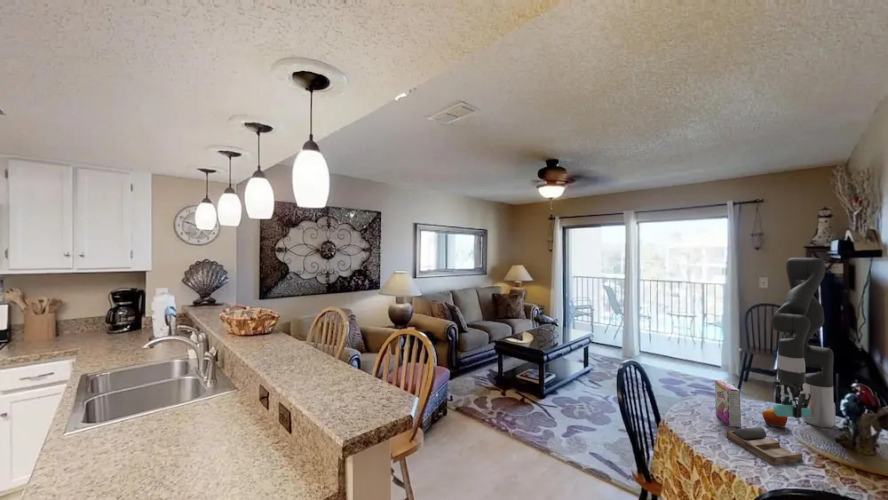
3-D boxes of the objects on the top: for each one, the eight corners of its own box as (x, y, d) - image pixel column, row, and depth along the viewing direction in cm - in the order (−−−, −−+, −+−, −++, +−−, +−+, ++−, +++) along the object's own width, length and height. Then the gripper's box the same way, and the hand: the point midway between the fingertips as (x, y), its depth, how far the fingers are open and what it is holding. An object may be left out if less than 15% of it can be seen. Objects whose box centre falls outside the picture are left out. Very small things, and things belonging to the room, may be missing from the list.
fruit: (769, 426, 156) (765, 406, 160) (762, 428, 162) (758, 409, 166) (794, 429, 153) (788, 409, 156) (786, 431, 159) (781, 411, 163)
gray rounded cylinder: (757, 435, 151) (756, 425, 151) (767, 439, 147) (765, 428, 147) (735, 438, 149) (734, 427, 150) (744, 442, 146) (742, 431, 146)
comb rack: (752, 434, 153) (752, 428, 153) (802, 460, 134) (802, 453, 134) (726, 437, 152) (726, 431, 152) (773, 464, 133) (773, 457, 133)
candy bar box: (715, 415, 171) (714, 379, 170) (727, 415, 170) (726, 380, 169) (728, 427, 160) (727, 389, 159) (741, 427, 159) (740, 389, 158)
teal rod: (781, 418, 134) (781, 407, 134) (773, 413, 138) (772, 402, 138) (811, 419, 133) (811, 408, 133) (802, 414, 137) (802, 403, 137)
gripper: (765, 362, 143) (765, 406, 143) (796, 374, 129) (797, 423, 129) (786, 362, 142) (786, 406, 142) (819, 374, 128) (820, 424, 128)
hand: (791, 414), depth 136 cm, fingers closed on teal rod, 4 cm apart
